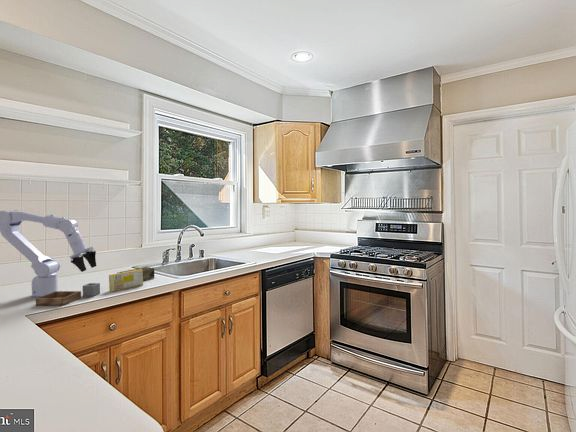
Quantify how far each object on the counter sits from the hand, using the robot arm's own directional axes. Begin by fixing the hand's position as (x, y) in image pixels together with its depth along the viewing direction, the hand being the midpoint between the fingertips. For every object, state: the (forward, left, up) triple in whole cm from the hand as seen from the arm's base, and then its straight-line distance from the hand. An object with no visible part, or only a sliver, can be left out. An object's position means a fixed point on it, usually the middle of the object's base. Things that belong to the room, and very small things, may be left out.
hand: (89, 269), depth 155 cm
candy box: (+13, +9, -12) cm, 20 cm away
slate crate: (+3, -4, -12) cm, 12 cm away
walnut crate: (-5, -14, -12) cm, 18 cm away
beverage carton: (+11, +25, -12) cm, 29 cm away
